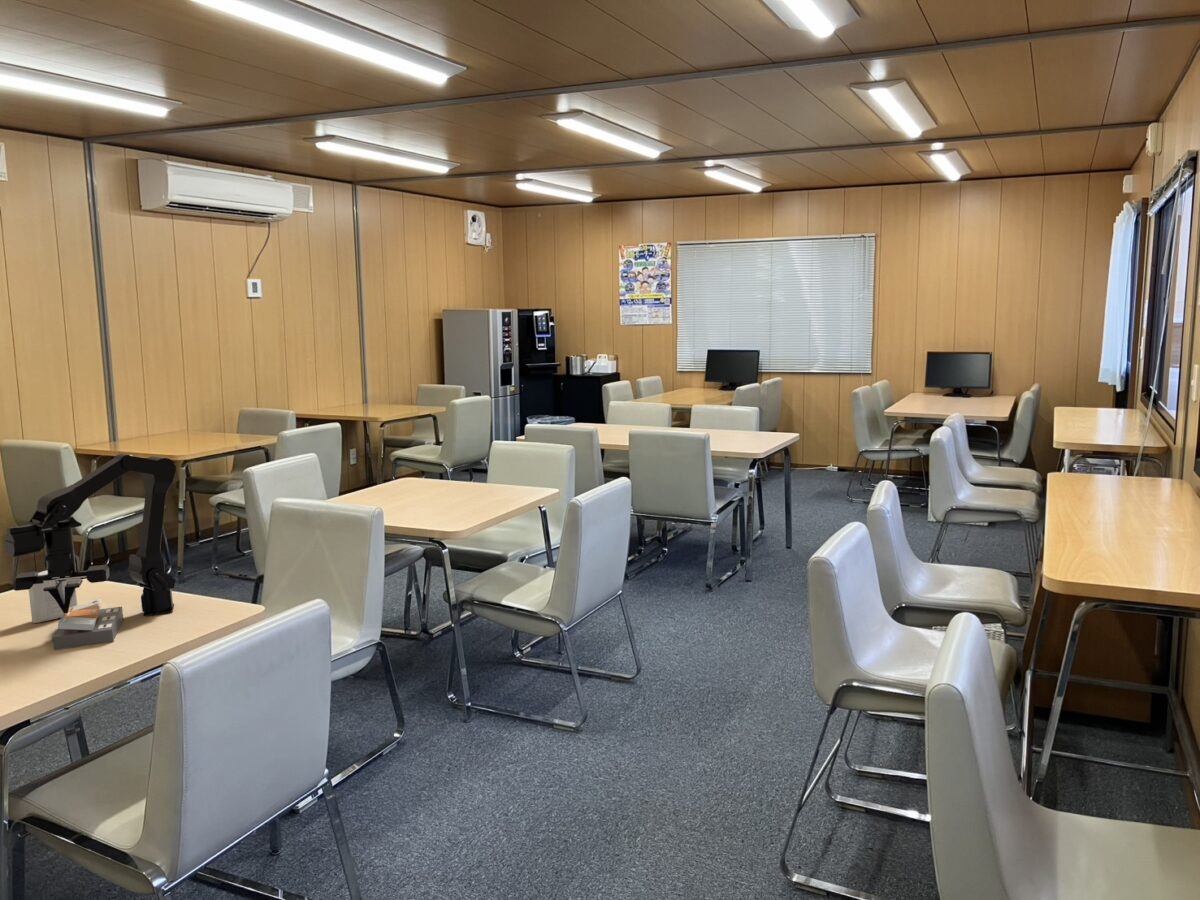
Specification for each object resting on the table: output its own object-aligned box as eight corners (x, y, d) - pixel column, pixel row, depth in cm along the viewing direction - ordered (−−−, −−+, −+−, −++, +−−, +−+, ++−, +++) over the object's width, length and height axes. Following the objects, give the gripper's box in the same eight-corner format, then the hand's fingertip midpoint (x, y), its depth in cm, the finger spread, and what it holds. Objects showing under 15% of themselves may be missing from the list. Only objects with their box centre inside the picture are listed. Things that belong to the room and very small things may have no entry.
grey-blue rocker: (95, 624, 211) (96, 618, 211) (92, 630, 206) (93, 624, 206) (61, 622, 208) (62, 616, 208) (57, 628, 204) (58, 622, 204)
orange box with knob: (99, 613, 216) (99, 607, 216) (96, 619, 212) (96, 613, 212) (66, 617, 214) (65, 611, 213) (62, 623, 209) (61, 616, 209)
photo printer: (76, 610, 231) (70, 564, 229) (81, 614, 228) (75, 567, 226) (30, 621, 224) (24, 573, 222) (34, 625, 221) (28, 576, 219)
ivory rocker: (102, 603, 221) (100, 597, 221) (99, 608, 217) (97, 603, 217) (71, 612, 219) (69, 607, 219) (67, 618, 215) (65, 613, 215)
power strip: (123, 617, 224) (121, 604, 224) (113, 641, 208) (111, 626, 207) (68, 625, 220) (66, 611, 219) (53, 650, 203) (52, 634, 203)
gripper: (109, 536, 220) (115, 598, 222) (20, 544, 213) (27, 607, 215) (102, 547, 210) (109, 611, 212) (9, 555, 203) (16, 622, 205)
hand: (66, 612), depth 211 cm, fingers closed
